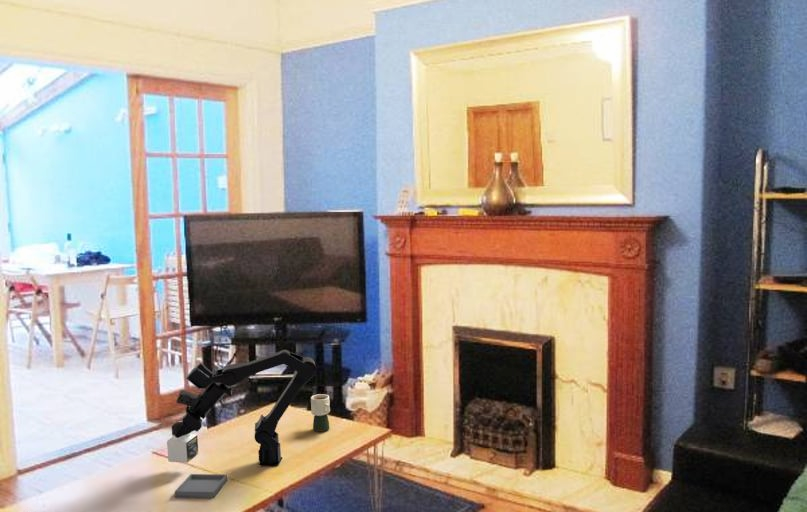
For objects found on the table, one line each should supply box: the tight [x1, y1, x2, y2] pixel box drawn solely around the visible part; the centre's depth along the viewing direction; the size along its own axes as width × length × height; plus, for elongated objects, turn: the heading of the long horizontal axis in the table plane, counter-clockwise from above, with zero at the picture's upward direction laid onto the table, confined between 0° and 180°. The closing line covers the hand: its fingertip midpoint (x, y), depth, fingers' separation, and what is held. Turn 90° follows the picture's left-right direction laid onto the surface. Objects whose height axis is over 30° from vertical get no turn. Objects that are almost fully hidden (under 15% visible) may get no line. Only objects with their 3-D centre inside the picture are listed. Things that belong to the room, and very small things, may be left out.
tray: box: [174, 473, 228, 499], centre depth 204 cm, size 12×12×2 cm
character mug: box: [310, 393, 331, 432], centre depth 251 cm, size 11×7×13 cm, turn 43°
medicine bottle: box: [166, 420, 199, 464], centre depth 216 cm, size 7×7×12 cm
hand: (177, 433), depth 215 cm, fingers closed on medicine bottle, 6 cm apart
